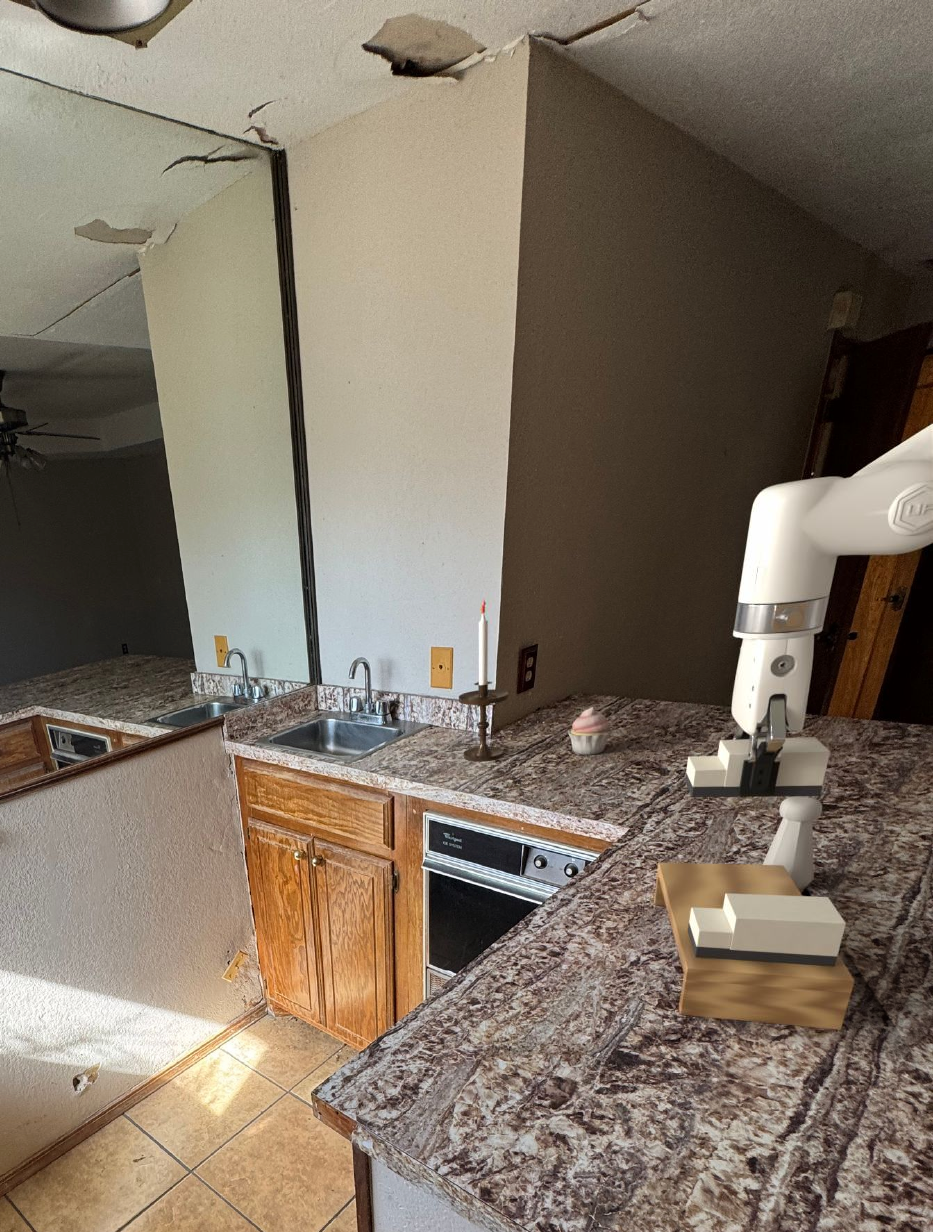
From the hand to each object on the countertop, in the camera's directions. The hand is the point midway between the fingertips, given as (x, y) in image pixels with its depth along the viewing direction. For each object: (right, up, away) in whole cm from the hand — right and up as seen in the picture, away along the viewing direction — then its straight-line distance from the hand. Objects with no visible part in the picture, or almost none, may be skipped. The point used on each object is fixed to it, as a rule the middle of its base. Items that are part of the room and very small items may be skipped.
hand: (749, 784), depth 78 cm
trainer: (0, 0, 0) cm, 0 cm away
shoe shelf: (+1, -20, +4) cm, 20 cm away
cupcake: (+18, +19, +78) cm, 83 cm away
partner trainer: (-3, -18, -5) cm, 19 cm away
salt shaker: (+15, -12, +15) cm, 25 cm away
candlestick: (-3, +20, +86) cm, 88 cm away
